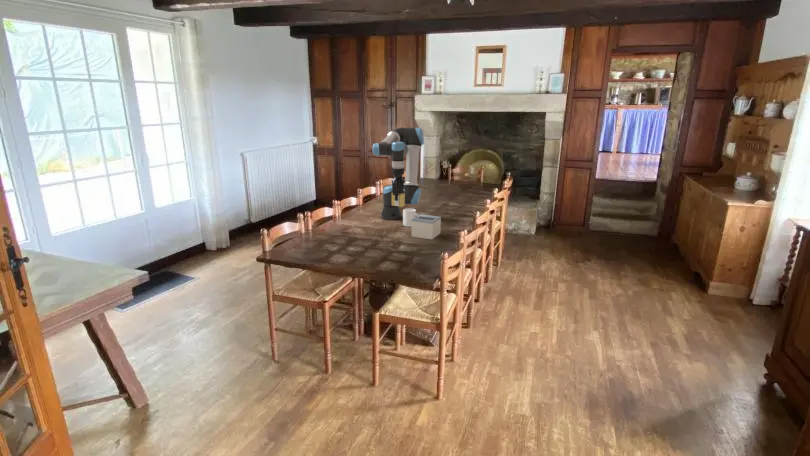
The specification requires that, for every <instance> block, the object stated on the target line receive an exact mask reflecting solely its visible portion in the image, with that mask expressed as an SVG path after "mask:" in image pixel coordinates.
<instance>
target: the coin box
mask: <svg viewBox="0 0 810 456" xmlns="http://www.w3.org/2000/svg"><path fill="white" fill-rule="evenodd" d="M441 220H442V216H437V215H429V214H421V213H420V214H418V216H416V217H415V218H413V219H412V227H410V228H411V237H413V238H420V239H427V240H434V239H435V238H436V237H437V236H438V235H439V236H440V234H441V231H442V230H441V226H442V221H441Z"/></svg>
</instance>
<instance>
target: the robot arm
mask: <svg viewBox="0 0 810 456" xmlns="http://www.w3.org/2000/svg"><path fill="white" fill-rule="evenodd" d="M424 135H425V134H424V130H423V129H422V128H421V127H398V128H395V129H392V130H391V131H389V132H388V133H387V135H386V137H385V138H383V140H381V141H380V143H379V142H377V143H376V142H375V143H373V145H372V154H373V155H374V156H385V157H387V156H391V174H392V175H393V179H391V185H386V186H384V187H383V189H382V205H383V207H382V211H381V213H380V217H381V219H382V220H388V221H390V220H391V221H393V220H394V221H395V220H400V219H403V212H402V210H401V208H400V206H399V195H398V193H405V205H417V204H418V203H419V202H420V199H421V195H422V189H421V188H420V184H419V183H418V174H419V172H418V171H419V157H420V156H419V153H420V149H422V146H423V145H424V144H425V137H424ZM405 156H406V158H405ZM405 160H406V162H405ZM403 175H405V176H403ZM392 193H393V195H395V206H392Z"/></svg>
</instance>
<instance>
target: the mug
mask: <svg viewBox="0 0 810 456" xmlns="http://www.w3.org/2000/svg"><path fill="white" fill-rule="evenodd" d="M418 215H419V214H418V213H417V209H415V208H404V209H402V225H403V227H406V228H407V227H408V228H411V227H412V219H413V218H415V217H417V216H418Z"/></svg>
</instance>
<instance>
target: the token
mask: <svg viewBox="0 0 810 456" xmlns="http://www.w3.org/2000/svg"><path fill="white" fill-rule="evenodd" d="M398 195H399V207H401V208H404V207H405V206H406V204H405V193H398ZM392 206H395V195H393V193H392Z"/></svg>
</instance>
